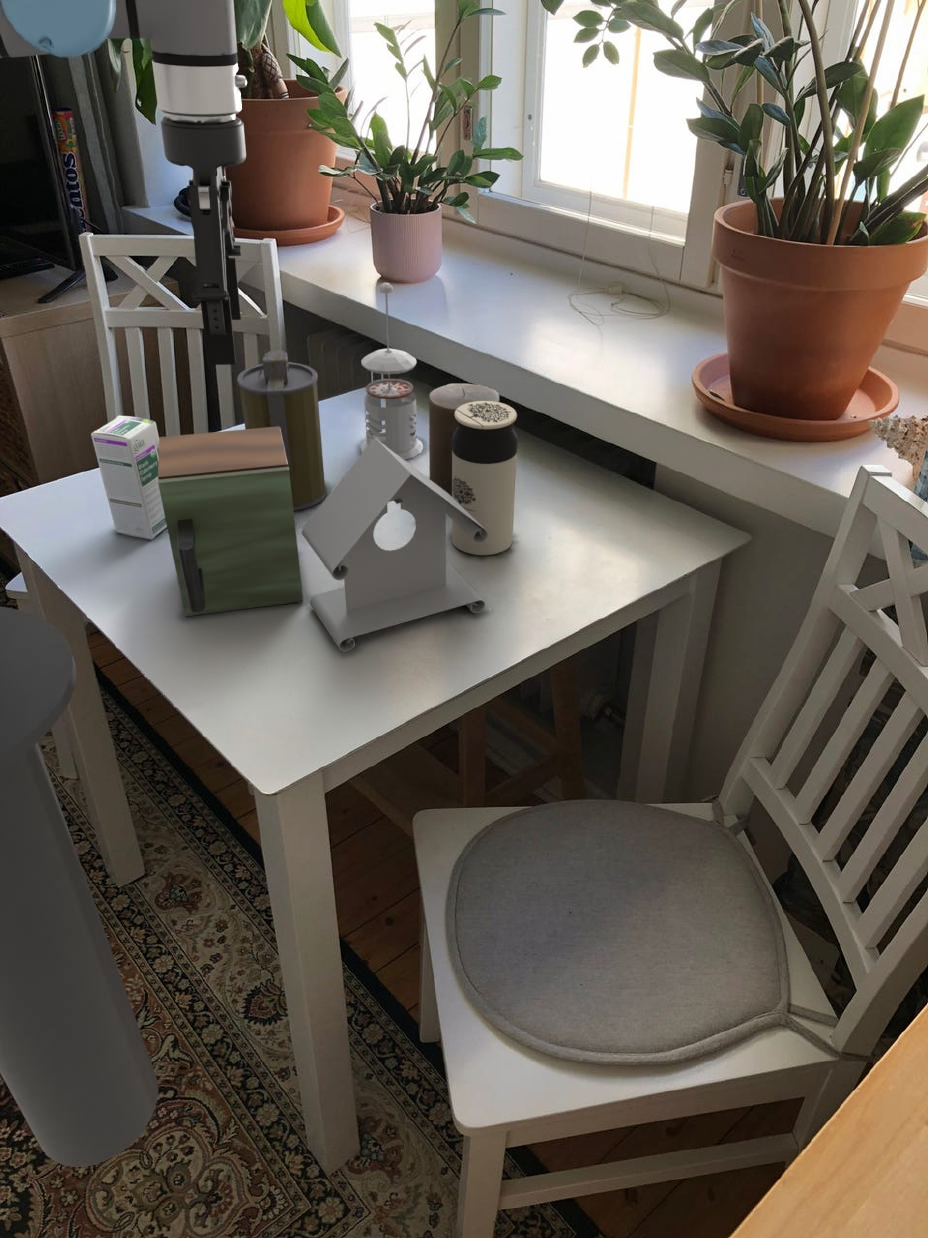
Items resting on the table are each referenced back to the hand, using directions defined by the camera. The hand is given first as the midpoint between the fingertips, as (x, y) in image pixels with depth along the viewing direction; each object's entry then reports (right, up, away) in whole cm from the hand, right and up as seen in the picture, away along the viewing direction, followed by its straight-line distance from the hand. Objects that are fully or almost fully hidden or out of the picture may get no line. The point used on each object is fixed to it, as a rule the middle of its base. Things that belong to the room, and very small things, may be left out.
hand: (225, 340), depth 99 cm
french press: (+14, -3, +46) cm, 48 cm away
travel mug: (+28, -20, +23) cm, 41 cm away
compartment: (-2, -25, +15) cm, 29 cm away
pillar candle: (+25, -11, +35) cm, 45 cm away
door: (0, -30, +8) cm, 31 cm away
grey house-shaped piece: (+18, -29, +10) cm, 35 cm away
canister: (+1, -12, +33) cm, 35 cm away
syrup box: (-17, -18, +25) cm, 35 cm away
